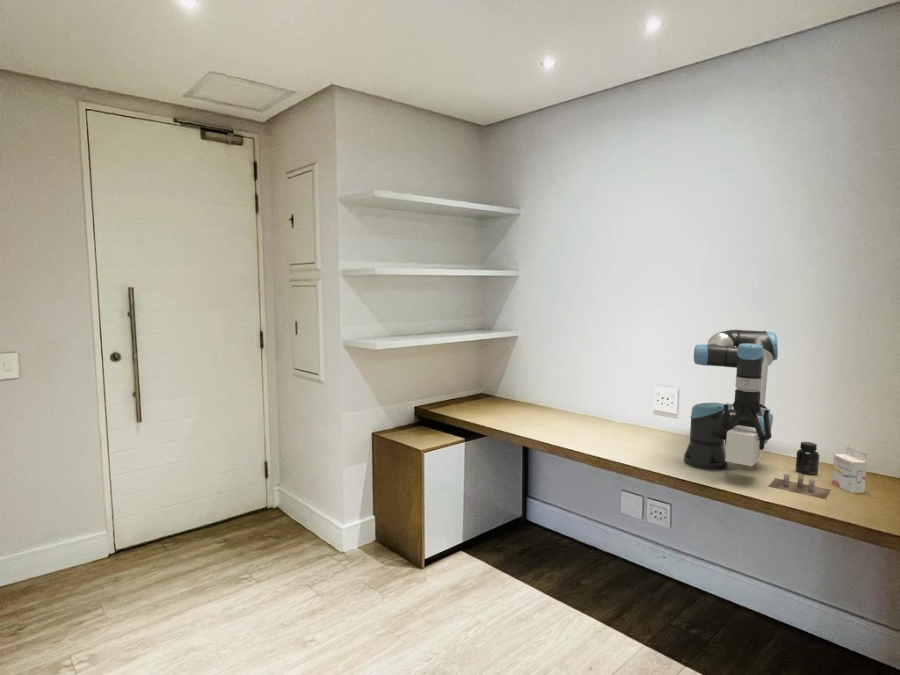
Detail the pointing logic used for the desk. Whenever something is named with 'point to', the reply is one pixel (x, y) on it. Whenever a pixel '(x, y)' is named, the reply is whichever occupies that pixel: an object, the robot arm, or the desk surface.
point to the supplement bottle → (807, 459)
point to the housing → (742, 445)
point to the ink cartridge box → (850, 470)
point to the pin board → (799, 490)
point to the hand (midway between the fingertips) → (743, 455)
